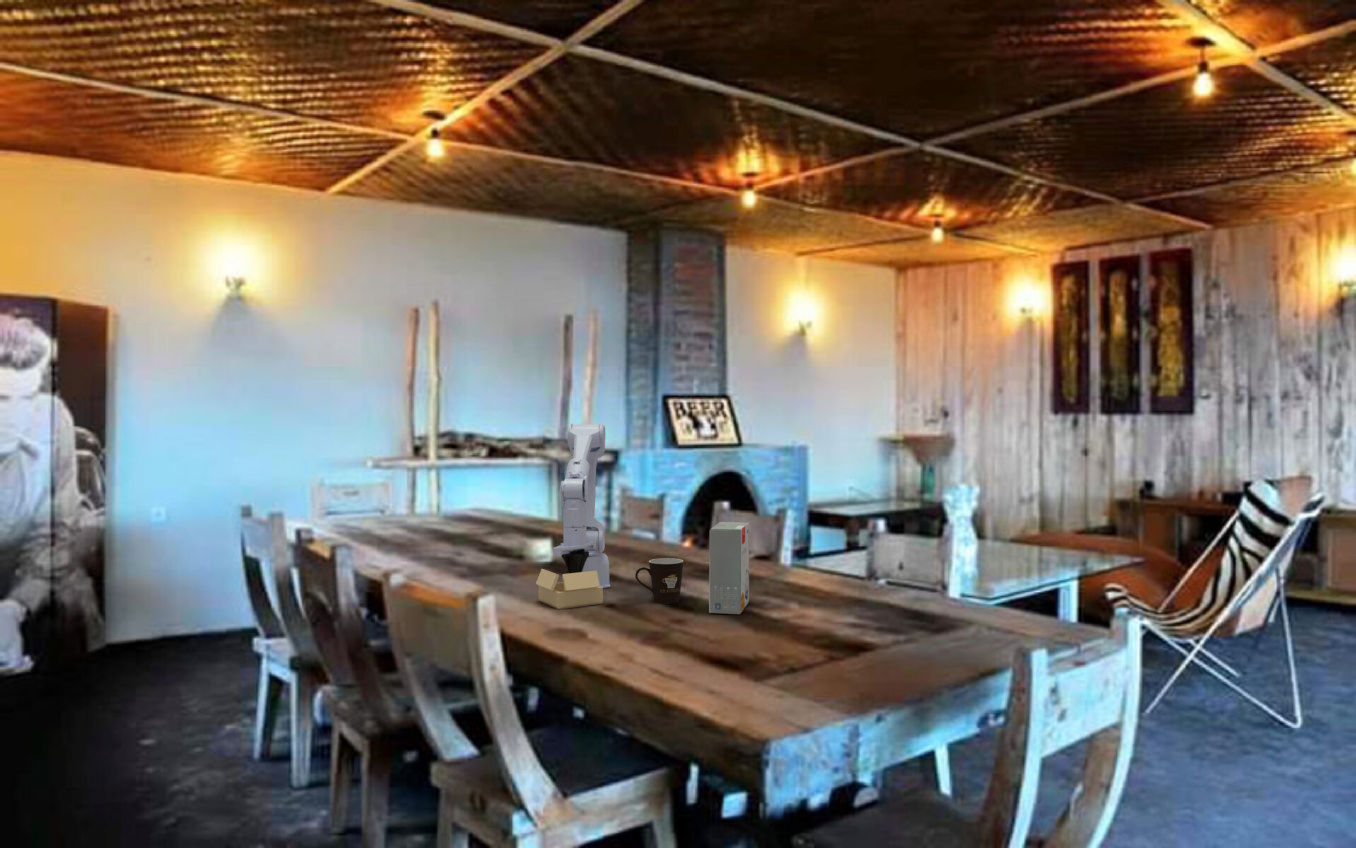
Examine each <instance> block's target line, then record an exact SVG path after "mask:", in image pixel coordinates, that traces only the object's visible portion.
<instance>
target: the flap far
mask: <svg viewBox="0 0 1356 848" xmlns="http://www.w3.org/2000/svg"><path fill="white" fill-rule="evenodd" d="M559 578H560V574H558V573H555V572H552V571H549V570H546V569H543V568H541V570H540V572H539V575H538V577H537V580H536V581H535V584H536V585H538V586H539V585H540V586H542V587H545V588H547V589H550V590H552V591H553V590H554V587H555V585H556V583H558V579H559Z"/></svg>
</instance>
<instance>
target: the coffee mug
mask: <svg viewBox="0 0 1356 848" xmlns="http://www.w3.org/2000/svg"><path fill="white" fill-rule="evenodd" d="M648 564H649V568H648V567H643V566H642V567H640V568H638V569H637V570H636V571H635V575H634V576H635V579H636V581H637V583H639V584H640V585H641V586H642V587H644V588H645V589H647V590H649V591H651V593H652V597H653V602H654V603H656V604H665V605H667V604H676V603H679V602H680V598H681V597H680V596H681V590H682V588H681V587H682V580H683V579H682V578H683V569H684V560H683V559H681V558H674V557H672V558H671V557H663V558H662V557H661V558H660V557H659V558H654V559H649V561H648ZM641 571H646V572H647V573H648V575H650V580H651V587H649V586H648V585H646V584H645V583H643V582H641V580H640V579H639V577H638V576H639V573H640V572H641Z"/></svg>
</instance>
